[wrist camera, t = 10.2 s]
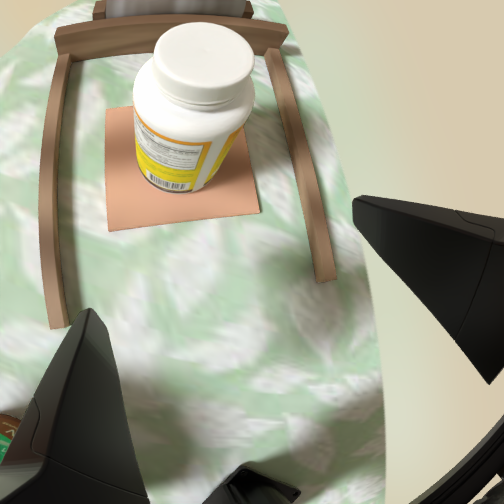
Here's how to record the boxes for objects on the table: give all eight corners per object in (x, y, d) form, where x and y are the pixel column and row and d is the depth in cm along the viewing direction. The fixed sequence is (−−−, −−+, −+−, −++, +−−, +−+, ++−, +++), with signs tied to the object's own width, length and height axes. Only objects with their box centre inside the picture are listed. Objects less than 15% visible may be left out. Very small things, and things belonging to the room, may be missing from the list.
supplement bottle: (202, 116, 20) (244, 8, 10) (230, 182, 20) (299, 93, 10) (126, 136, 18) (122, 22, 8) (150, 209, 18) (153, 121, 8)
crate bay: (327, 280, 22) (376, 274, 17) (56, 327, 15) (23, 338, 10) (263, 25, 24) (284, -11, 19) (70, 29, 17) (65, -13, 12)
